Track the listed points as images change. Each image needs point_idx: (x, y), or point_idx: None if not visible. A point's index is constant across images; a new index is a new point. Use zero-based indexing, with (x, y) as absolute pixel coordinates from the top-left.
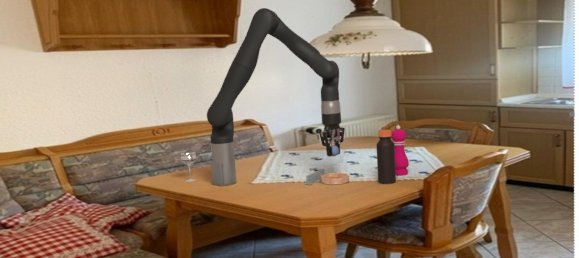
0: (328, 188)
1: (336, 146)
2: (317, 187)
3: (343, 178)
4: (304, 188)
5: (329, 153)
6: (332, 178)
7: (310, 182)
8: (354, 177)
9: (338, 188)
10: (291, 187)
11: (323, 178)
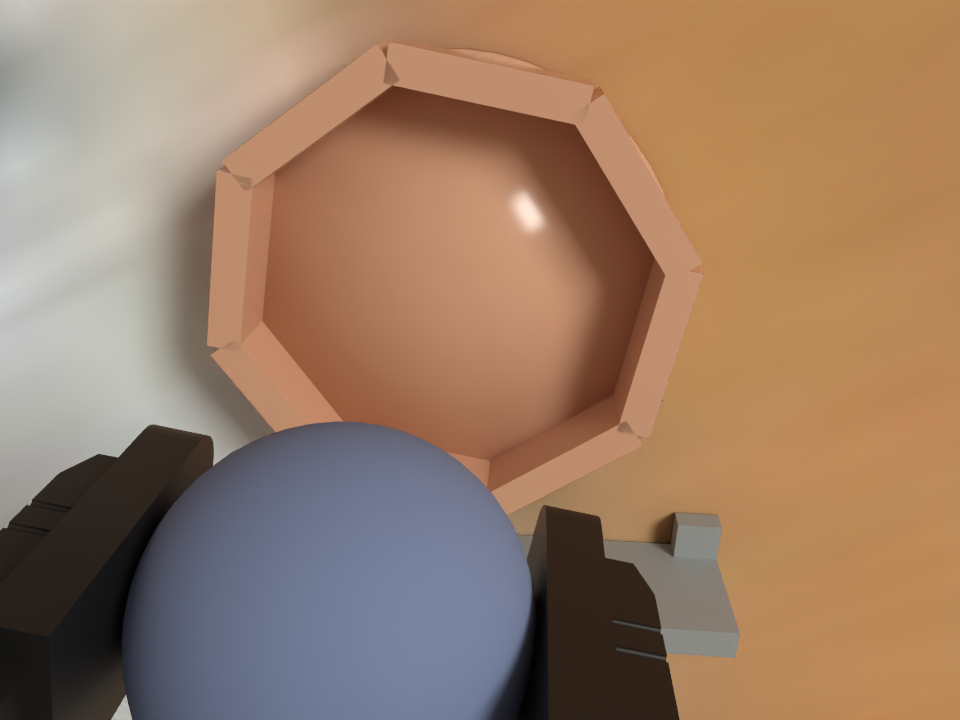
0: (921, 184)
1: (260, 635)
2: (861, 372)
3: (566, 78)
4: (934, 511)
5: (653, 607)
6: (661, 257)
7: (651, 553)
8: (75, 94)
9: (915, 10)
10: (883, 668)
11: (656, 409)
